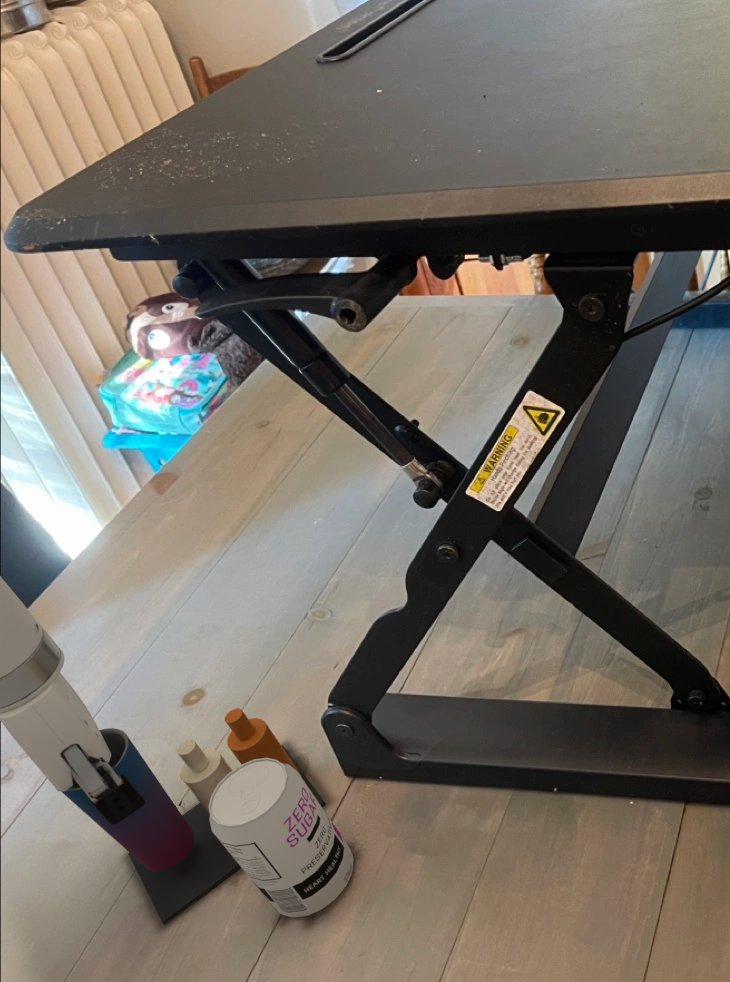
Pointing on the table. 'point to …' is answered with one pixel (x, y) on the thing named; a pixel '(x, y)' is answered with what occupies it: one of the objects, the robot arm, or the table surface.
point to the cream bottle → (202, 770)
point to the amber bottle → (253, 739)
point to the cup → (140, 809)
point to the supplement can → (280, 836)
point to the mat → (194, 865)
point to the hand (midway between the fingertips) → (117, 791)
